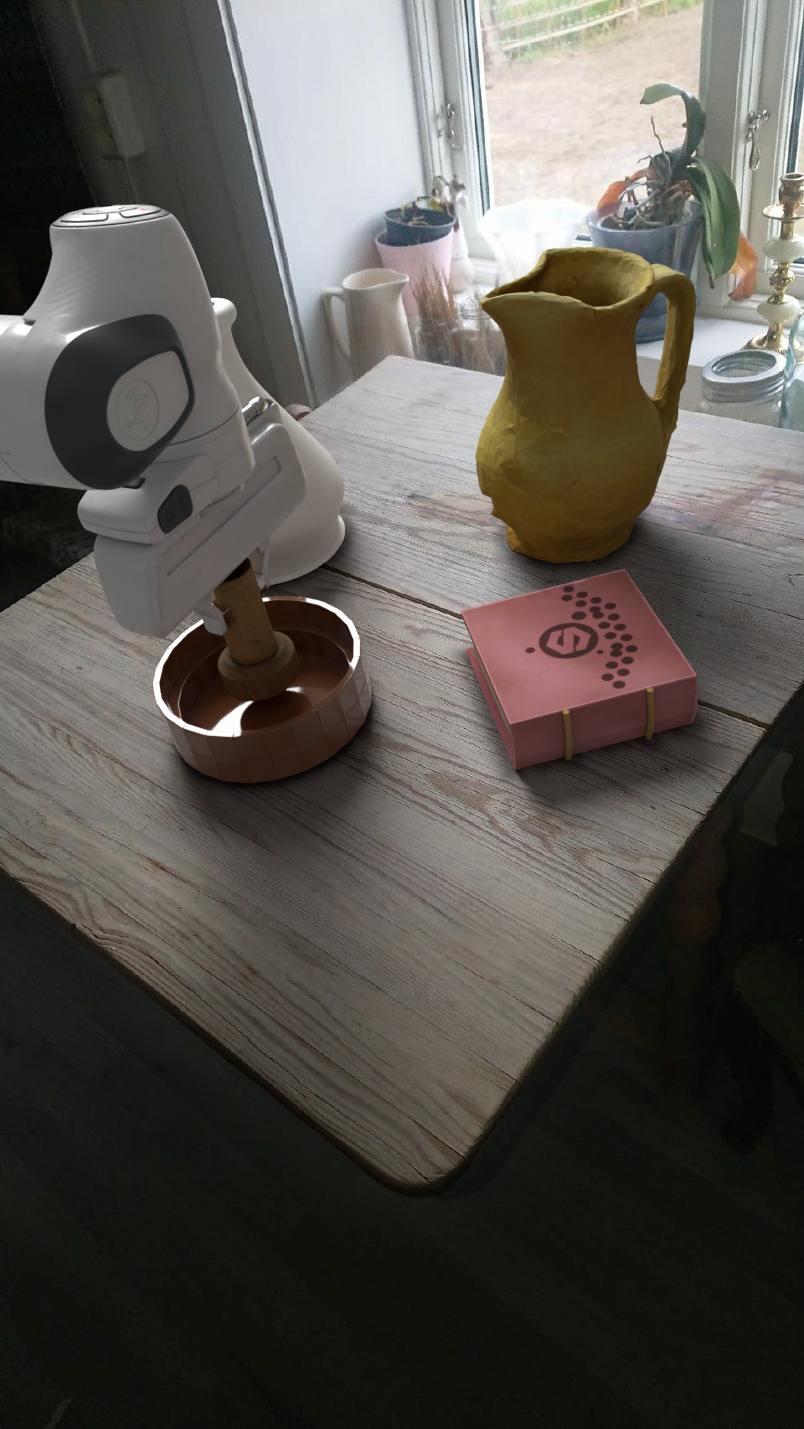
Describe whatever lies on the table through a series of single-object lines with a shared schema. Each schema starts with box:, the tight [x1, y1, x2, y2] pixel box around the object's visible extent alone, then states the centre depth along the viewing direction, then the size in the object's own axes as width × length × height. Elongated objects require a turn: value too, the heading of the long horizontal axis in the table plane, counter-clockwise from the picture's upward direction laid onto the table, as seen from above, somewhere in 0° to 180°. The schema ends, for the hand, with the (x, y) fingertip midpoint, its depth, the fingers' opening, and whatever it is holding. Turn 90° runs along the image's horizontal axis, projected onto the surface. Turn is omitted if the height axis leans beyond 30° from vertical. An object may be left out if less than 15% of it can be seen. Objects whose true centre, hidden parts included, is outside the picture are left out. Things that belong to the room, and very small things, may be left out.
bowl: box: [152, 595, 372, 784], centre depth 81 cm, size 17×17×6 cm
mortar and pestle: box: [211, 510, 300, 701], centre depth 76 cm, size 7×6×18 cm
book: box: [460, 568, 699, 771], centre depth 78 cm, size 14×15×5 cm
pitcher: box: [474, 246, 697, 564], centre depth 88 cm, size 17×19×25 cm
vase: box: [211, 297, 346, 586], centre depth 94 cm, size 17×17×25 cm
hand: (239, 609), depth 78 cm, fingers closed on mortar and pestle, 4 cm apart
